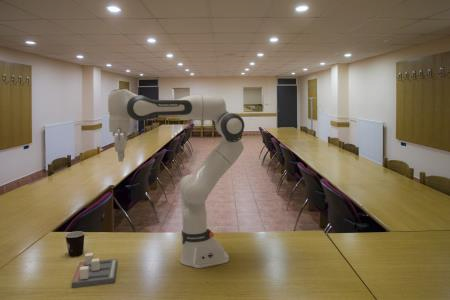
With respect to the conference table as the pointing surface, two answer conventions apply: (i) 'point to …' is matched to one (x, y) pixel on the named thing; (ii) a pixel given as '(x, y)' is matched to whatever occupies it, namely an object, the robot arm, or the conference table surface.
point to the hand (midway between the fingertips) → (121, 160)
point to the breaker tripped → (95, 264)
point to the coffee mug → (75, 243)
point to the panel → (96, 274)
